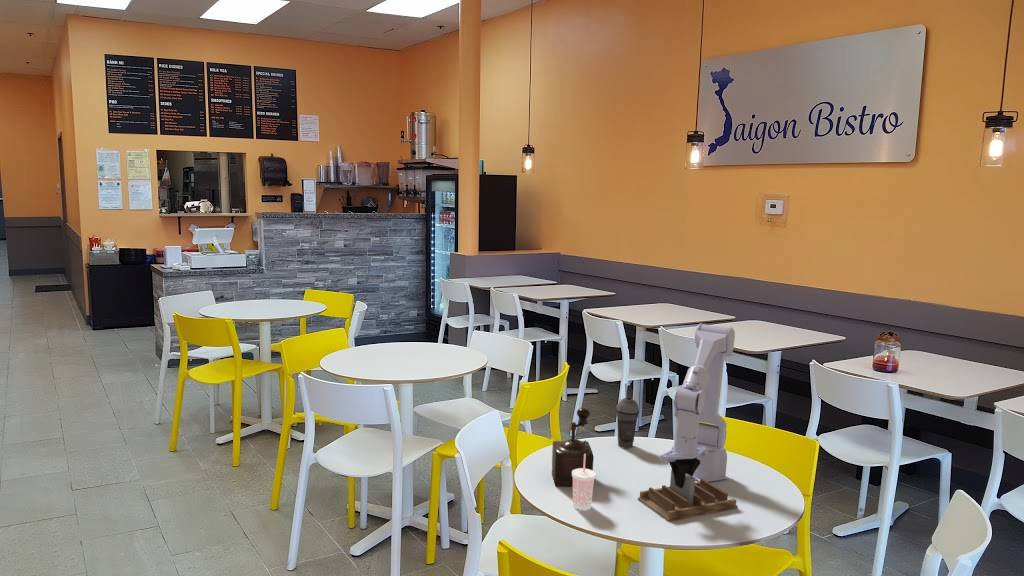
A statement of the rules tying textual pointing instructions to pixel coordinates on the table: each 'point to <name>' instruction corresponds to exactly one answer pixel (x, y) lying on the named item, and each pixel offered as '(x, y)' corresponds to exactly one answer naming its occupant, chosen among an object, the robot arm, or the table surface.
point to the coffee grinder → (571, 454)
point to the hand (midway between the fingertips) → (682, 485)
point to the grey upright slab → (684, 488)
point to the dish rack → (677, 506)
